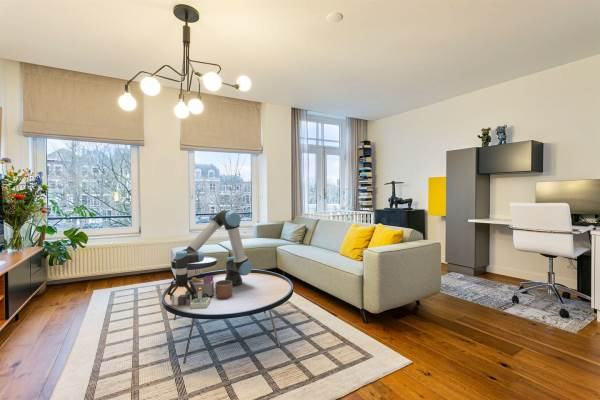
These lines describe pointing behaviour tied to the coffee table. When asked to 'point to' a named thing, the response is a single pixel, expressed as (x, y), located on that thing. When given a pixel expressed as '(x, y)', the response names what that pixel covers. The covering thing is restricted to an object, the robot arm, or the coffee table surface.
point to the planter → (223, 289)
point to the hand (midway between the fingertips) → (182, 304)
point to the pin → (199, 294)
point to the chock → (182, 300)
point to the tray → (200, 305)
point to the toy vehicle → (206, 284)
